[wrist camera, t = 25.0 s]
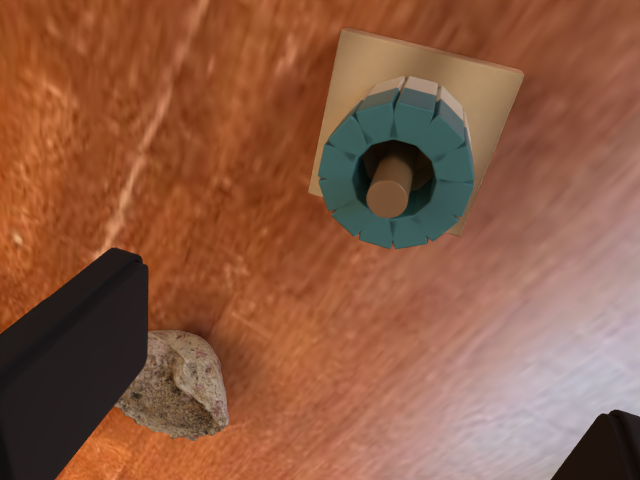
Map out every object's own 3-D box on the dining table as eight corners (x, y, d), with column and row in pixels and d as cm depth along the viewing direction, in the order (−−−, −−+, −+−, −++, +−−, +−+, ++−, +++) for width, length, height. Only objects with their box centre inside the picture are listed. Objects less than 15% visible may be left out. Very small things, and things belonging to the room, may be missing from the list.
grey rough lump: (177, 379, 45) (254, 438, 40) (108, 433, 41) (185, 507, 36) (151, 285, 39) (238, 339, 34) (67, 335, 35) (152, 407, 29)
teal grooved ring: (492, 109, 21) (497, 127, 19) (444, 235, 24) (443, 265, 22) (350, 73, 22) (336, 85, 19) (322, 199, 25) (306, 225, 23)
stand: (521, 69, 24) (554, 116, 16) (459, 225, 29) (462, 323, 21) (346, 26, 25) (295, 50, 17) (313, 183, 30) (261, 262, 22)
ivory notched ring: (488, 95, 24) (492, 110, 21) (445, 210, 27) (444, 235, 24) (360, 63, 24) (350, 73, 22) (334, 179, 28) (321, 200, 25)
